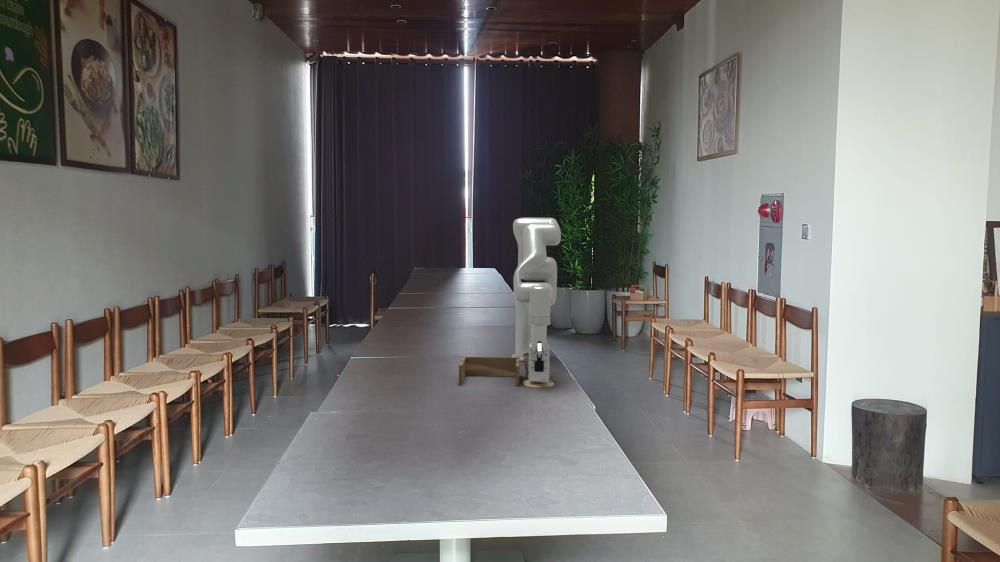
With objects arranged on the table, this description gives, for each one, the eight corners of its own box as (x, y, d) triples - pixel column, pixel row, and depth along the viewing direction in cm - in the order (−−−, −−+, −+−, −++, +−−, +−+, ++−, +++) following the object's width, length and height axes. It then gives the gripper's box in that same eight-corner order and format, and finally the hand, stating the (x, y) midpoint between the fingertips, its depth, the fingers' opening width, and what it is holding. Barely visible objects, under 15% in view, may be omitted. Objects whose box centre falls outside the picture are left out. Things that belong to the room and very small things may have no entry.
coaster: (543, 379, 277) (543, 377, 277) (559, 386, 267) (560, 384, 267) (517, 382, 272) (517, 380, 271) (533, 389, 262) (533, 387, 262)
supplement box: (529, 376, 273) (529, 342, 272) (549, 377, 273) (550, 343, 271) (527, 381, 266) (528, 346, 265) (548, 382, 265) (549, 347, 264)
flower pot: (517, 378, 278) (517, 355, 277) (528, 373, 286) (528, 351, 285) (540, 381, 274) (540, 358, 273) (550, 376, 282) (551, 353, 281)
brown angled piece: (462, 374, 283) (462, 356, 282) (519, 375, 282) (519, 357, 281) (458, 384, 267) (458, 365, 267) (518, 385, 267) (519, 366, 266)
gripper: (529, 316, 276) (528, 363, 278) (529, 324, 258) (528, 374, 260) (549, 316, 275) (548, 363, 277) (550, 324, 258) (550, 374, 260)
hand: (538, 368), depth 269 cm, fingers closed on supplement box, 7 cm apart
